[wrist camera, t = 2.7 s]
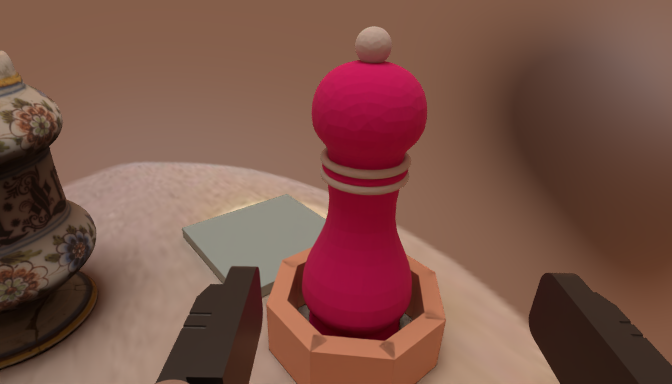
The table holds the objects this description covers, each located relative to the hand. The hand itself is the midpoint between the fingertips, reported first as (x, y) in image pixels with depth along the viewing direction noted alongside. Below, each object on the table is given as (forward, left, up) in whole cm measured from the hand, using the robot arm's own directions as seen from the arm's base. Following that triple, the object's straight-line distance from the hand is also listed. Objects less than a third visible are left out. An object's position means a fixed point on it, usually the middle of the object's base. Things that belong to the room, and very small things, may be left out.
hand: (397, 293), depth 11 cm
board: (-22, +8, -14) cm, 27 cm away
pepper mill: (-9, +7, -14) cm, 18 cm away
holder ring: (-9, +7, -14) cm, 18 cm away
